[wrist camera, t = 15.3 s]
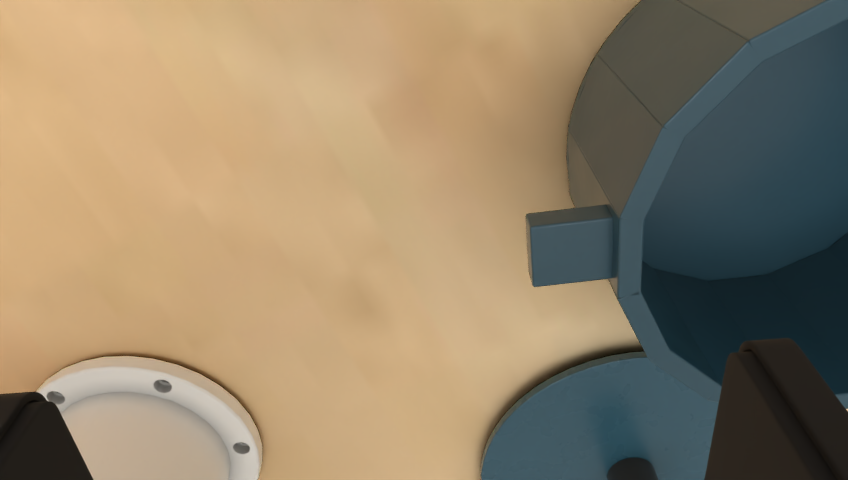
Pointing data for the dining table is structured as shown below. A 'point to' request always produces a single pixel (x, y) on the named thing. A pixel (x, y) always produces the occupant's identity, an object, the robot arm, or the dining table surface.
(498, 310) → the dining table surface
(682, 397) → the lid
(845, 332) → the pot
